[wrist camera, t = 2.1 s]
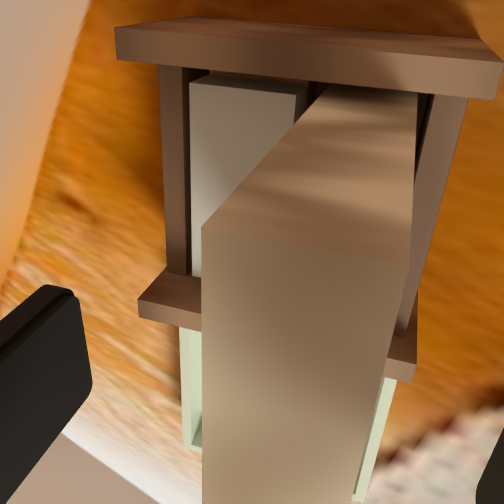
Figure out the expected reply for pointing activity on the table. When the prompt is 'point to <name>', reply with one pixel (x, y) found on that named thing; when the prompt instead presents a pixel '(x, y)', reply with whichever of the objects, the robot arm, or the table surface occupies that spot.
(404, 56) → the rack
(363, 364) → the block
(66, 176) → the table surface
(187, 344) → the tray
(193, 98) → the offcut top
